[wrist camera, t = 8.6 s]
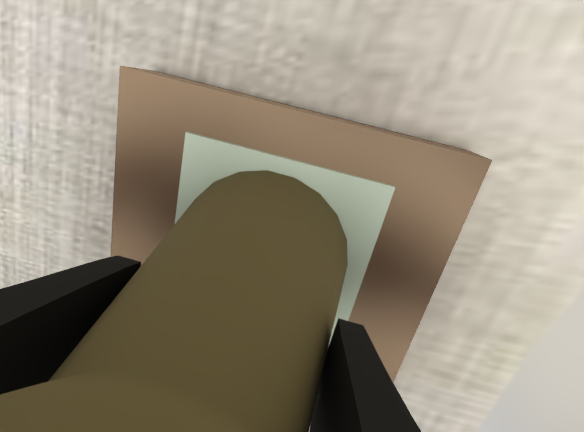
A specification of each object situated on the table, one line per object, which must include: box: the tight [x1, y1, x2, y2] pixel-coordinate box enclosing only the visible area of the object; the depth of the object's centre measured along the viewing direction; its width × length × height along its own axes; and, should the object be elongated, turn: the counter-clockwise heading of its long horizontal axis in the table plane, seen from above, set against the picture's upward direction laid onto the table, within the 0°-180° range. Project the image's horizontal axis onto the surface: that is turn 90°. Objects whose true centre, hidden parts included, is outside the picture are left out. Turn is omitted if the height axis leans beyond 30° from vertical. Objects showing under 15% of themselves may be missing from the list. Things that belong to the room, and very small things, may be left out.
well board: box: [111, 66, 492, 382], centre depth 15 cm, size 20×12×2 cm, turn 167°
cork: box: [0, 170, 348, 432], centre depth 7 cm, size 6×6×11 cm
